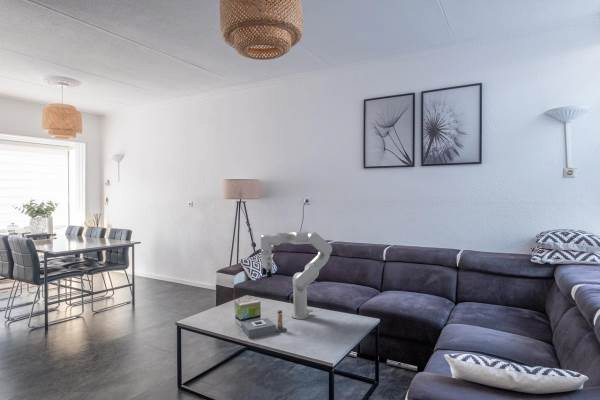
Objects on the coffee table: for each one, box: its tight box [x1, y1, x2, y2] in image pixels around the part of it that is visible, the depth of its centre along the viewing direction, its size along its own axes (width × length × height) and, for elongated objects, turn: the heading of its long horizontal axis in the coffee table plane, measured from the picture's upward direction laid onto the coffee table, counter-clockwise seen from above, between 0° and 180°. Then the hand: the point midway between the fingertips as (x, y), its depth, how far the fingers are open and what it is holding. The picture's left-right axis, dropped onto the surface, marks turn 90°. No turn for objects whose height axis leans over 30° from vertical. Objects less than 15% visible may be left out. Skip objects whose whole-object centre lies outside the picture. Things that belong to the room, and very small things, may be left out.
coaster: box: [276, 326, 287, 334], centre depth 232 cm, size 8×8×1 cm
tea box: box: [234, 298, 262, 328], centre depth 247 cm, size 15×10×15 cm, turn 123°
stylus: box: [277, 309, 284, 330], centre depth 232 cm, size 3×3×12 cm
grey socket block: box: [241, 318, 277, 339], centre depth 231 cm, size 18×14×6 cm
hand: (266, 276), depth 255 cm, fingers open, 9 cm apart
